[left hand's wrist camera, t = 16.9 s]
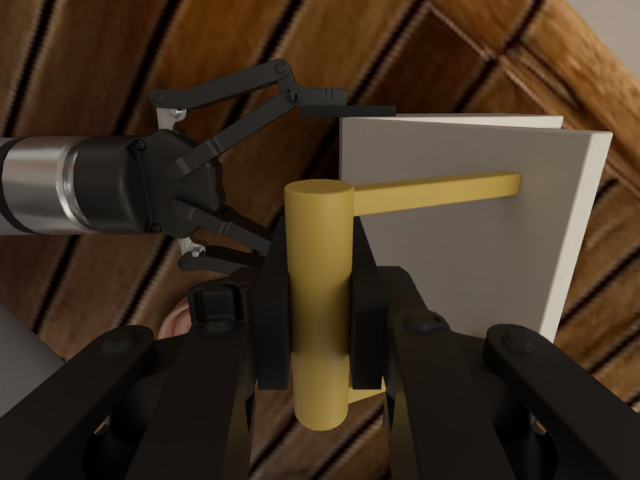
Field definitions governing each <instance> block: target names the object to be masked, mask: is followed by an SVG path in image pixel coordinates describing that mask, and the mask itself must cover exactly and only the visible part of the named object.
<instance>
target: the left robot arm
mask: <svg viewBox="0 0 640 480" xmlns="http://www.w3.org/2000/svg"><path fill="white" fill-rule="evenodd" d="M187 300H188V306H189V312H190V318H191V327H190V329H189V331H188V332H187V333H185V334H181V335H177V336H173V337H168V338H163V339H158V340H155V338H154V334H153V331H152V330H151V329H150V328H149V327H145V326H141V325H128V326H123V327H122V326H121V327H118V328H115V329H113V330H111V331H108V332H106V333H104V334H102V335H100V336H99V337H97V338H96V339H94V340H93V341H92V342H91V343H89V344H88V345H87V346H86V347H85V348H83V349H82V350H81V351H80V352H79V353H77V354H76V355H75V356H74V357H73V358H71V359H70V360H69V361H68V362H67V363H65V364H64V365H63V366H62V367H61V368H59V369H58V370H57V371H56V372H55V373H53V374H52V375H51V376H50V377H49V378H47V379H46V380H45V381H44V382H43V383H41V384H40V385H39V386H38V387H37V388H35V389H34V390H33V391H32V392H31V393H29V394H28V395H27V396H26V397H25V398H23V399H22V400H21V401H20V402H19V403H17V404H16V405H15V406H14V407H13V408H11V409H10V410H9V411H8V412H7V413H5V414H4V415H3V416H2V417H1V418H0V480H248V474H249V465H250V455H251V446H252V436H253V426H254V417H255V407H256V402H255V391H254V388H255V383H256V379H258V390H287V386H288V377H289V368H290V360H291V351H292V348H291V324H290V300H289V276H288V263H287V242H286V220H285V216H280V218H279V221H278V224H277V227H276V230H275V233H274V235H273V238H272V241H271V244H270V247H269V250H268V253H267V255H266V258H265V261H264V264H263V267H240V268H239V269H237V270H236V271H235V272H233V273H232V274H231V275H230V277H229V279H217V280H210V281H207V282H203V283H200V284H198V285H197V286H195V287H193V288H191V289H190V291H189V292H188V293H187ZM349 363H350V371H351V380H352V389H353V390H381V387H382V375H383V379H384V383H385V387H386V391H385V402H384V413H383V424H382V427H387V435H388V445H389V455H390V464H391V474H392V480H640V415H639V414H637V413H636V412H635V411H634V410H633V409H631V408H630V407H629V406H628V405H627V404H625V403H624V402H623V401H622V400H621V399H619V398H618V397H617V396H616V395H615V394H613V393H612V392H611V391H610V390H608V389H607V388H606V387H605V386H604V385H602V384H601V383H600V382H599V381H598V380H596V379H595V378H594V377H593V376H592V375H590V374H589V373H588V372H587V371H585V370H584V369H583V368H582V367H581V366H579V365H578V364H577V363H576V362H575V361H573V360H572V359H571V358H570V357H569V356H567V355H566V354H565V353H564V352H562V351H561V350H560V349H559V348H558V347H556V346H555V345H554V344H553V343H552V342H550V341H549V340H548V339H547V338H545V337H544V336H542V335H541V334H539V333H538V332H536V331H533V330H531V329H529V328H526V327H524V326H521V325H517V324H501V323H500V324H496V325H492V326H491V327H490V328H489V329H488V330H487V332H486V337H485V338H480V337H475V336H470V335H464V334H461V333H457V332H454V331H451V328H450V326H449V324H448V323H447V321H446V320H445V319H444V318H443V317H442V316H440V315H439V314H437V313H436V312H433V311H430V310H428V308H427V306H426V304H425V303H424V301H423V299H422V297H421V295H420V293H419V291H418V290H417V287H416V285H415V284H414V283H413V280H412V278H411V276H410V274H409V273H408V272H407V271H405V270H404V269H403V268H401V267H400V266H377V265H376V262H375V259H374V257H373V254H372V251H371V248H370V245H369V242H368V239H367V237H366V234H365V231H364V228H363V225H362V222H361V220H360V217H359V216H354V217H353V247H352V271H351V295H350V325H349ZM535 418H536V419H537V420H538V421H539V423H540V424H541V425H542V426H543V427H544V428H545V430H546V432H544V431H542V430H541V429H540V428H539V427H538V425H537V424H536V423H535V422H534V420H535ZM104 420H105V421H106V423H105V425H104V426H103V427H102V428H101V429H100V430H99V431H98V432H97V433H96V434H94V432H95V430H96V429H97V428H98V427H99V426H100V425H101V423H102V422H103V421H104Z"/></svg>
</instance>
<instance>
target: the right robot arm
mask: <svg viewBox="0 0 640 480" xmlns="http://www.w3.org/2000/svg"><path fill="white" fill-rule="evenodd" d="M274 84H278V87H279V90H280V92H281V93H280V94H279V95H277V96H275V97H274V98H272V99H271V100H269V101H268V102H266V103H265V104H263V105H262V106H260V107H258V108H257V109H255V110H254V111H252V112H251V113H249V114H248V115H246V116H244V117H243V118H241V119H240V120H238V121H237V122H235V123H234V124H232V125H231V126H229V127H227V128H226V129H224V130H223V131H221V132H220V133H218V134H217V135H215V136H213V137H212V138H210V139H208V140H206V141H205V142H203V143H201V144H198V143H197V142H195V141H194V140H192V139H191V138H189V137H188V136H186V135H185V134H183V133H182V132H180V131H179V130H177V126H178V124H179V122H181V121H183V120H187V119H188V118H189V117H190V109H198V108H203V107H207V106H210V105H213V104H216V103H219V102H222V101H225V100H228V99H231V98H234V97H238V96H241V95H244V94H247V93H250V92H253V91H256V90H259V89H262V88H265V87H268V86H271V85H274ZM346 96H347V91H346V90H343V89H341V88H302V87H300V86H298V84H297V83H296V81H295V78H294V75H293V72H292V69H291V67H290V65H289V64H288V63H287V61H285V60H284V59H281V58H280V59H275V60H272V61H269V62H266V63H263V64H260V65H257V66H254V67H251V68H248V69H245V70H242V71H239V72H236V73H233V74H230V75H227V76H224V77H221V78H218V79H215V80H212V81H209V82H206V83H203V84H200V85H197V86H194V87H191V88H188V89H185V90H182V91H178V90H163V89H154V90H152V91H150V93H149V101H150V103H151V104H152V105H153V106H154V107H156V108H157V116H158V126H159V130H157V131H155V132H154V133H152V134H150V135H126V136H95V137H92V138H90V137H87V136H34V137H20V138H0V236H2V235H48V234H66V235H92V234H100V233H105V234H153V233H164V234H167V235H170V236H172V237H174V238H177V239H178V243H179V247H180V251H181V255H182V257H181V258H180V259H179V260H178V267H179V268H180V269H181V270H183V271H194V270H211V271H215V272H219V273H223V274H228V275H231V274H232V273H233V272H235V271H236V270H237V269H239V268H240V267H263V264H264V261H265V258H266V257H263V256H259V255H255V254H250V253H246V252H242V251H238V250H234V249H230V248H226V247H222V246H215V245H208V243H207V242H206V241H204V240H198V239H196V238H195V237H194V235H193V233H194V232H196V231H197V230H198V229H200V228H201V227H203V228H206V229H208V230H210V231H212V232H214V233H216V234H218V235H226V236H228V237H230V238H232V239H234V240H236V241H238V242H240V243H242V244H244V245H246V246H248V247H251V248H253V249H255V250H257V251H259V252H261V253H263V254H265V255H267V253H268V250H269V247H270V244H271V241H272V238H273V235H274V233H275V232H274V231H272V230H270V229H268V228H266V227H264V226H262V225H260V224H258V223H256V222H254V221H252V220H250V219H248V218H246V217H244V216H242V215H240V214H238V213H237V212H236V210H235V209H233V208H231V207H229V206H227V205H225V204H224V202H225V201H226V197H225V191H224V188H223V185H222V183H221V181H222V174H223V170H222V163H219V161H218V159H217V157H218V156H219V155H221V154H223V153H224V152H226V151H227V150H229V149H230V148H232V147H233V146H235V145H237V144H238V143H240V142H241V141H243V140H244V139H246V138H248V137H249V136H251V135H252V134H254V133H256V132H257V131H259V130H260V129H262V128H263V127H265V126H267V125H268V124H270V123H271V122H273V121H275V120H276V119H278V118H279V117H281V116H283V115H284V114H286V113H287V112H289V111H290V110H292V109H294V108H295V107H301V113H302V118H340V117H396V105H373V106H346ZM67 362H68V360H67V359H66V358H63V357H59V356H58V355H57V354H56V353H55V352H54V351H53V350H52V349H51V348H49V347H48V346H47V345H46V344H45V343H44V342H43V341H42V340H41V339H40V338H39V337H38V336H37V335H36V334H34V333H33V332H32V331H31V330H30V329H29V328H28V327H27V326H26V325H25V324H24V323H23V322H22V321H21V320H19V319H18V318H17V317H16V316H15V315H14V314H13V313H12V312H11V311H10V310H9V309H8V308H7V307H6V306H4V305H3V304H2V303H1V301H0V418H1V417H2V416H3V415H4V414H5V413H7V412H8V411H9V410H10V409H11V408H13V407H14V406H15V405H16V404H17V403H19V402H20V401H21V400H22V399H23V398H25V397H26V396H27V395H28V394H29V393H31V392H32V391H33V390H34V389H35V388H37V387H38V386H39V385H40V384H41V383H43V382H44V381H45V380H46V379H47V378H49V377H50V376H51V375H52V374H53V373H55V372H56V371H57V370H58V369H59V368H61V367H62V366H63V365H64V364H65V363H67Z"/></svg>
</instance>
